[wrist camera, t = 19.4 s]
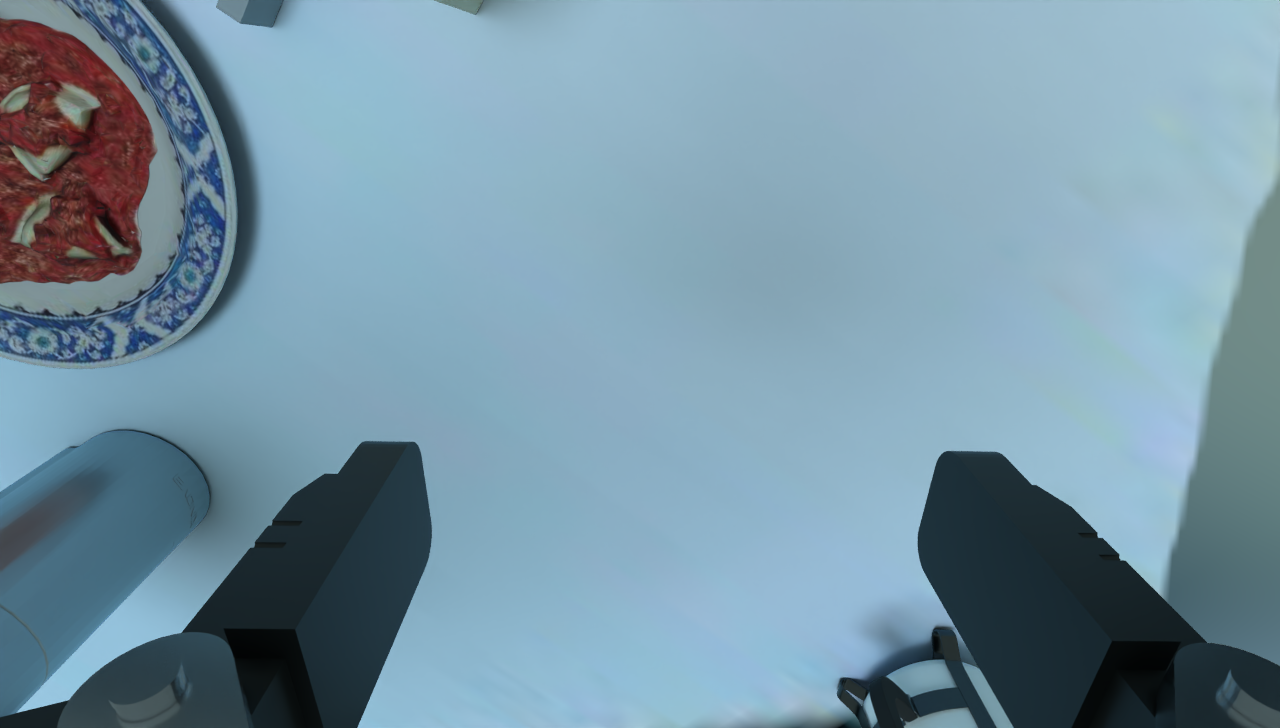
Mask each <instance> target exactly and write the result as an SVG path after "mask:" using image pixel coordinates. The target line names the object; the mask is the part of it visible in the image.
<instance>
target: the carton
mask: <svg viewBox="0 0 1280 728" xmlns="http://www.w3.org/2000/svg"><path fill="white" fill-rule="evenodd" d="M435 1H438V2H440V3H443V4H446V5H449V6H452V7H455V8H457V9H460V10H463V11H466V12H469V13H472V14H474V15H476V13H477V11H478V9H479V7H480V6H481V4H482V2H483V0H435Z"/></svg>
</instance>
